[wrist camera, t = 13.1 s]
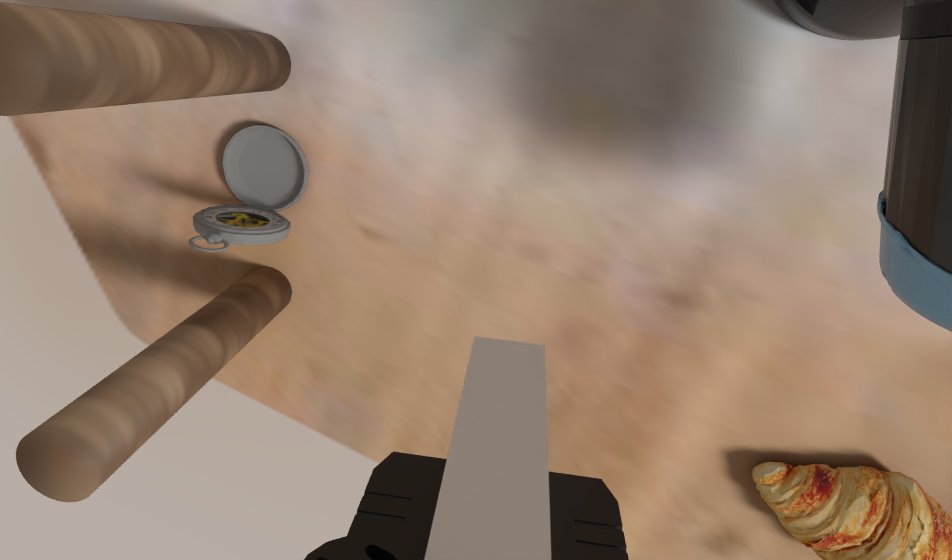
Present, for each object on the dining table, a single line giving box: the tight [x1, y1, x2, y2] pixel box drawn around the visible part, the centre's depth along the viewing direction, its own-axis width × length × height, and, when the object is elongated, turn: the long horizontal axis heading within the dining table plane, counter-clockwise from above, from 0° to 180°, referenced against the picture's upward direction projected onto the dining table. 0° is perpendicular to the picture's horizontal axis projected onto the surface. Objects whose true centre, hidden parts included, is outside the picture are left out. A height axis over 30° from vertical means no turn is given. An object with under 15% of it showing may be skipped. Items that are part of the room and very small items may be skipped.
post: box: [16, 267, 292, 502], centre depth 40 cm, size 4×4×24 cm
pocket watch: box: [189, 125, 308, 253], centre depth 43 cm, size 8×8×10 cm
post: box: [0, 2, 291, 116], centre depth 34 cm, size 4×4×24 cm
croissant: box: [752, 462, 952, 560], centre depth 50 cm, size 21×10×8 cm, turn 68°
